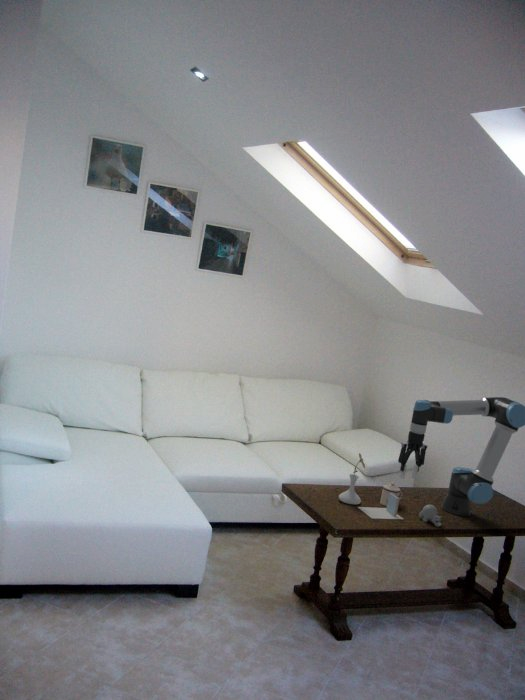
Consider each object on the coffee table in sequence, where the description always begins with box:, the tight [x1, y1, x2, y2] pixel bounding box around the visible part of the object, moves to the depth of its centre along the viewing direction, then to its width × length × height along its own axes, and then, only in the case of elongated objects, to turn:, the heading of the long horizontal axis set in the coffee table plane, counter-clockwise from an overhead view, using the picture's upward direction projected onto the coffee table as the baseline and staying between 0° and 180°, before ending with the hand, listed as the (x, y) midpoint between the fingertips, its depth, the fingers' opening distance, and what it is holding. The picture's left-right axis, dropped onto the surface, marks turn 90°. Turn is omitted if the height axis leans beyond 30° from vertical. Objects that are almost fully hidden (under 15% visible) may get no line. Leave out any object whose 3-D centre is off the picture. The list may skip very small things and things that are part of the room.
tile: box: [385, 493, 401, 516], centre depth 335 cm, size 2×7×9 cm, turn 21°
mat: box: [357, 506, 404, 520], centre depth 334 cm, size 18×14×1 cm
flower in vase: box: [337, 452, 366, 505], centre depth 343 cm, size 13×11×25 cm
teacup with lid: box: [379, 482, 403, 507], centre depth 350 cm, size 12×9×12 cm
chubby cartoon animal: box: [418, 504, 443, 527], centre depth 332 cm, size 7×12×8 cm, turn 32°
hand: (407, 477), depth 336 cm, fingers open, 6 cm apart
